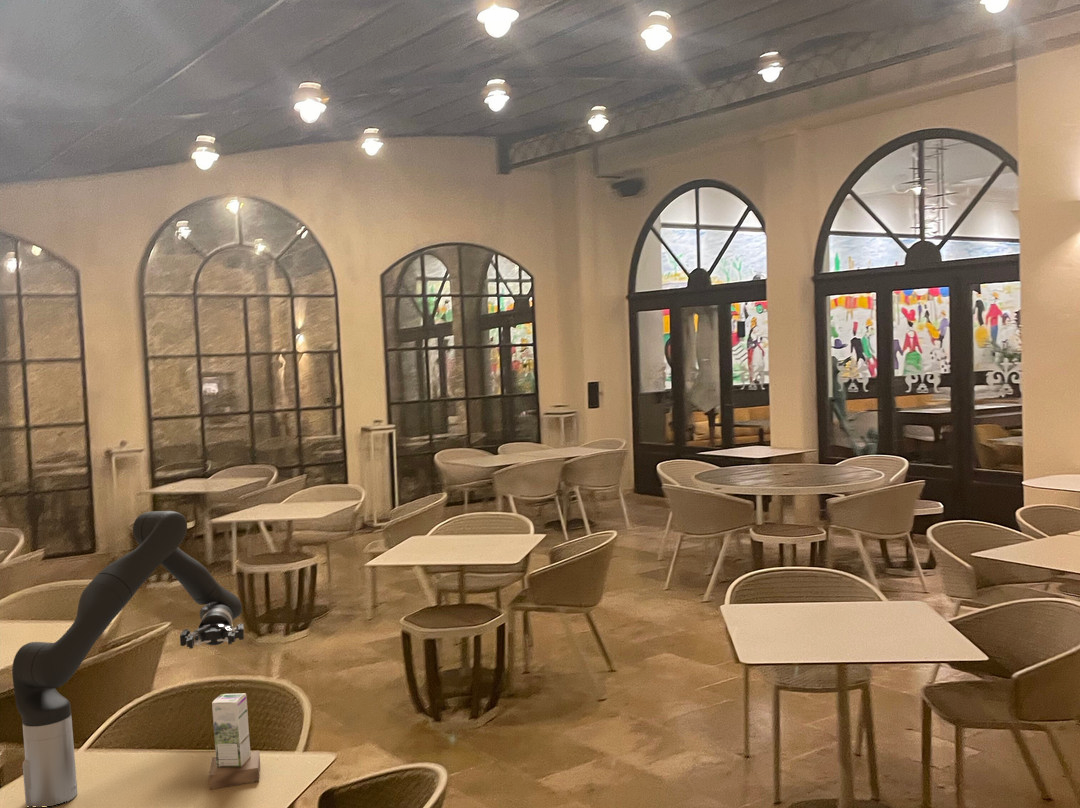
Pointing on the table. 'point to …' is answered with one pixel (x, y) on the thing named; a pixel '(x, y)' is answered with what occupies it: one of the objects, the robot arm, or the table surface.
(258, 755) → the brown box
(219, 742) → the syrup box
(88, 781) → the table surface
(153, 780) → the table surface
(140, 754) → the table surface
